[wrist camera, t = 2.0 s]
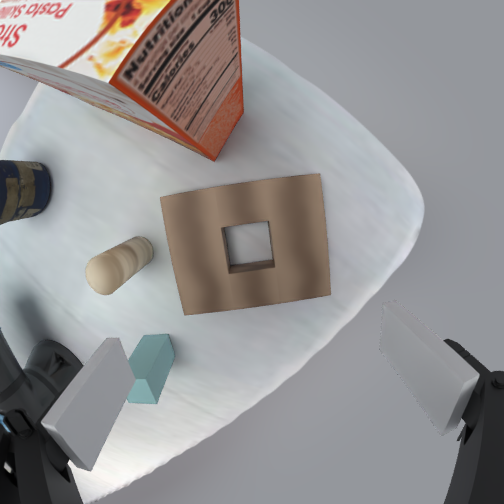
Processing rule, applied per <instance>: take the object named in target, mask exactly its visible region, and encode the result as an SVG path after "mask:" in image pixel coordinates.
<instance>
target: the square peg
mask: <svg viewBox="0 0 504 504" xmlns="http://www.w3.org/2000/svg"><path fill="white" fill-rule="evenodd" d="M174 358H175V354H174V351H173V348H172V344H171V341H170V338H169V335H168V334H159V335H144V336H143V338H142V339H141V341H140V342H139V344H138V345H137V347H136V349H135V350H134V352H133V353H132V355H131V356H130V358H129V360H128V362H129V365H130V367H131V370H132V372H133V374H134V377H135V379H136V381H135V383H134V385H133V387H132V389H131V391H130V393H129V394H128V396H127V400H128V402H129V403H143V404H157V402H158V400H159V397H160V394H161V392H162V389H163V387H164V384H165V381H166V379H167V376H168V374H169V371H170V368H171V366H172V363H173V361H174Z"/></svg>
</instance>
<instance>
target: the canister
mask: <svg viewBox="0 0 504 504" xmlns="http://www.w3.org/2000/svg"><path fill="white" fill-rule="evenodd" d="M49 192H50V181H49V176H48V173H47V171H46V169H45V167H44V166H43V165H41V164H40V163H38V162H28V161H13V160H0V225H1V224H3V223H6V222H10V221H14V220H19V219H24V218H29V217H33V216H36V215H37V214H39V213H40V212H41V211H42V210H43V208H44V207H45V205H46V203H47V200H48V197H49Z"/></svg>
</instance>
